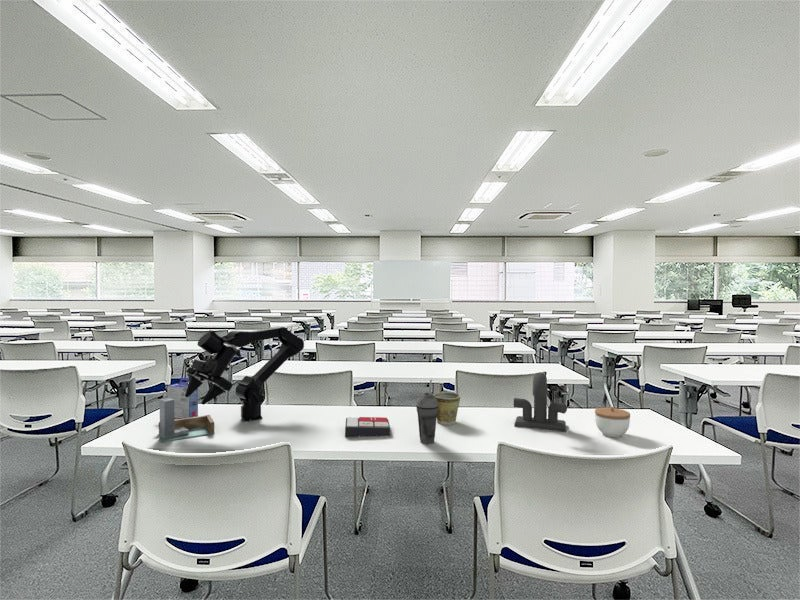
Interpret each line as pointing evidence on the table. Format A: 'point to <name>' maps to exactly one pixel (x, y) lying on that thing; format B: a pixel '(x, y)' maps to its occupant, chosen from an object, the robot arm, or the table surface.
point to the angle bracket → (169, 421)
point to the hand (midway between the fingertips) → (194, 400)
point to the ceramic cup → (447, 407)
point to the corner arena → (193, 427)
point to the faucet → (540, 409)
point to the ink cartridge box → (183, 400)
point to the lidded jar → (612, 421)
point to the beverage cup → (427, 416)
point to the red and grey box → (367, 426)
